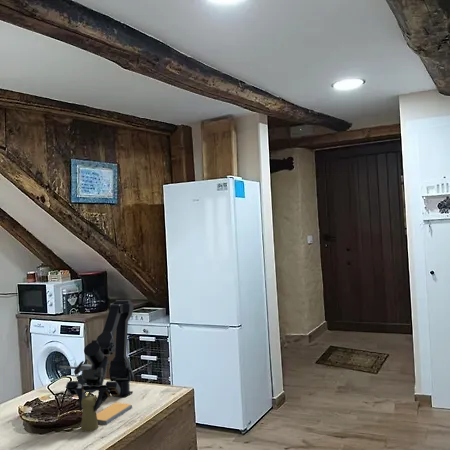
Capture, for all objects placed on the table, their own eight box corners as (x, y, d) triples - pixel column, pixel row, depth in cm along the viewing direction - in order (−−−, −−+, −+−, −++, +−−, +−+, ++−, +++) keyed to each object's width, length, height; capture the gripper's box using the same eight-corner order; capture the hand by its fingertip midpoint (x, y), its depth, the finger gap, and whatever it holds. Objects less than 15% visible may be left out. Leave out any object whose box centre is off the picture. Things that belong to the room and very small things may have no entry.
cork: (79, 426, 183) (78, 395, 183) (96, 423, 185) (96, 393, 185) (82, 432, 178) (81, 401, 177) (99, 429, 180) (98, 398, 180)
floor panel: (114, 405, 203) (114, 402, 203) (132, 408, 200) (132, 404, 200) (88, 421, 187) (88, 418, 187) (106, 424, 184) (106, 420, 184)
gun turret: (66, 383, 234) (66, 355, 234) (105, 386, 228) (104, 357, 227) (49, 392, 222) (48, 362, 222) (88, 396, 216) (88, 365, 215)
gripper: (67, 359, 186) (54, 400, 175) (117, 359, 184) (107, 400, 173) (76, 374, 194) (64, 414, 183) (124, 374, 192) (115, 415, 181)
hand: (87, 410), depth 180 cm, fingers closed on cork, 5 cm apart
